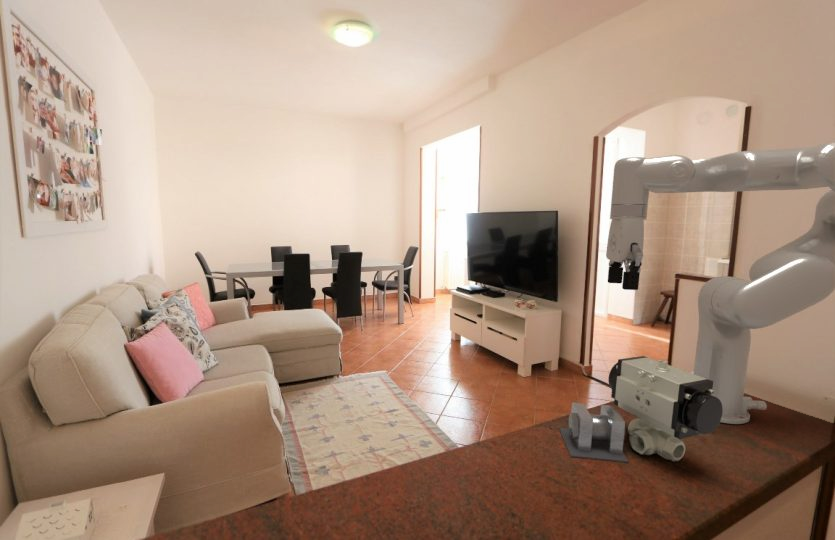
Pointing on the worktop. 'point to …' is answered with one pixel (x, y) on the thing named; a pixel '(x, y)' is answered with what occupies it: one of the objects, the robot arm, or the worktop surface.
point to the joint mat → (596, 451)
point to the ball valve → (663, 405)
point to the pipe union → (597, 428)
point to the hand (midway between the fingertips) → (621, 286)
